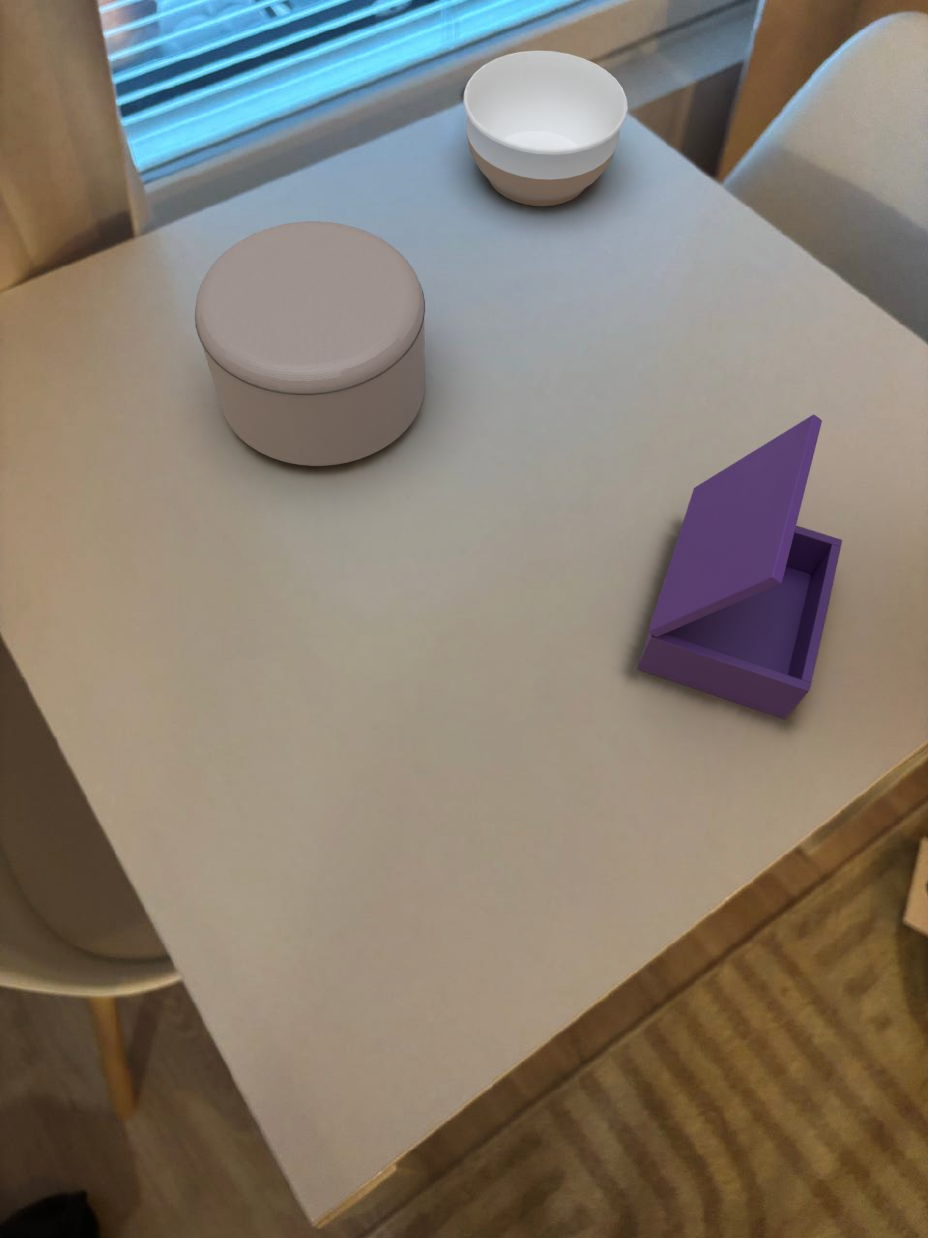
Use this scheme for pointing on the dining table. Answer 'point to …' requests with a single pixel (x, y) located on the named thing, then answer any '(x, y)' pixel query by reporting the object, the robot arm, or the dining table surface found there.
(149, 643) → the dining table surface
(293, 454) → the container
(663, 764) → the dining table surface
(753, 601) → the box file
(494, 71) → the bowl
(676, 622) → the lid
